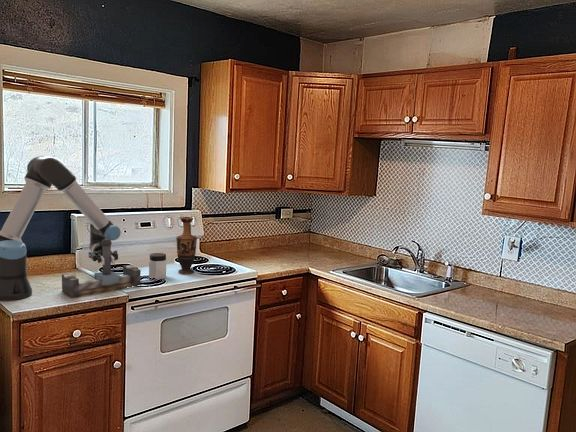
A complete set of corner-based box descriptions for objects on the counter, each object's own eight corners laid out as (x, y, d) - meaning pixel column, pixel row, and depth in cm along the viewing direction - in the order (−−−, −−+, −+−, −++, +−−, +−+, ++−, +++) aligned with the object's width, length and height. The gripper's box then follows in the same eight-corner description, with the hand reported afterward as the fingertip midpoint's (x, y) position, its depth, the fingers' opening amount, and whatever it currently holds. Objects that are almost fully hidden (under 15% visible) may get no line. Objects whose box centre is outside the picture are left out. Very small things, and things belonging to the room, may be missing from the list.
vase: (192, 275, 256) (192, 219, 252) (172, 274, 258) (173, 218, 254) (199, 271, 267) (200, 216, 263) (180, 269, 269) (181, 215, 265)
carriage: (102, 285, 223) (102, 240, 220) (94, 281, 229) (93, 237, 226) (119, 282, 228) (119, 239, 225) (111, 278, 235) (110, 236, 232)
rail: (69, 298, 211) (69, 279, 210) (59, 291, 220) (59, 273, 219) (142, 285, 235) (142, 268, 234) (130, 280, 243) (130, 263, 242)
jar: (151, 280, 245) (151, 256, 243) (146, 276, 252) (146, 253, 250) (168, 278, 250) (169, 255, 248) (163, 274, 257) (163, 252, 255)
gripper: (118, 257, 247) (127, 267, 227) (82, 259, 239) (89, 270, 219) (118, 242, 246) (127, 252, 226) (82, 244, 238) (88, 254, 218)
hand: (108, 261), depth 222 cm, fingers closed on carriage, 4 cm apart
